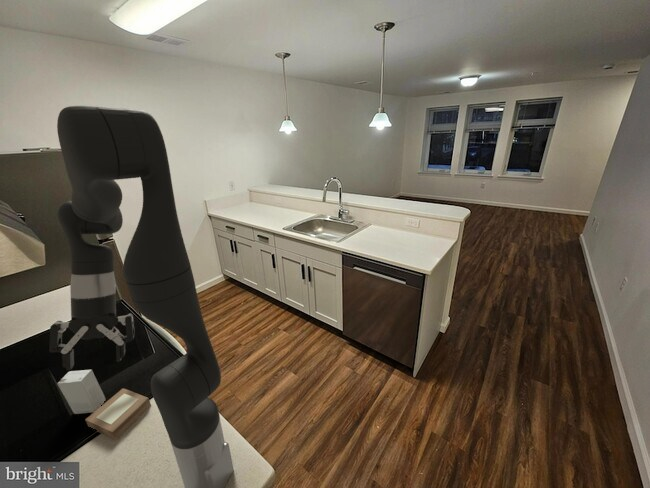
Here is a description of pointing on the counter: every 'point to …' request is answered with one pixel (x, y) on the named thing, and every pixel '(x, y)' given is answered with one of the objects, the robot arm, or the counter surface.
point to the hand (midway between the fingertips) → (95, 363)
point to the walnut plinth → (118, 413)
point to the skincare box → (82, 391)
